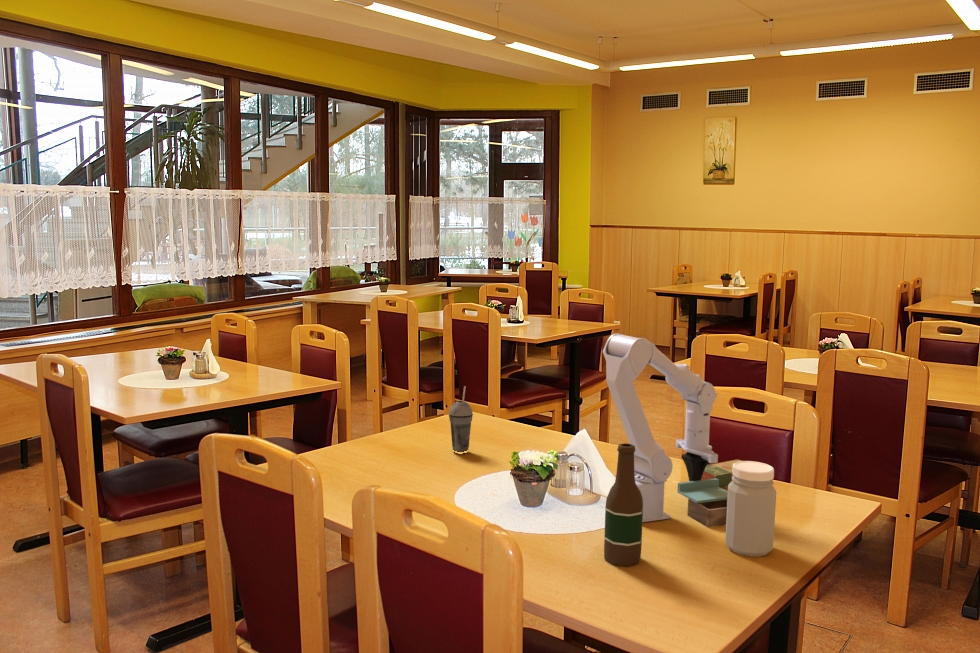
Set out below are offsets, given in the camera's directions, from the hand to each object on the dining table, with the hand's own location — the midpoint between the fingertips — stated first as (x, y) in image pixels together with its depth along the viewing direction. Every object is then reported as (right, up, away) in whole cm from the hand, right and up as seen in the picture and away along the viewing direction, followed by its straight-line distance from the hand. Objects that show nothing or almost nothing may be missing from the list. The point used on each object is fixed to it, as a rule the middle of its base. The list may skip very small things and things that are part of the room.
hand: (694, 483), depth 192 cm
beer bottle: (-23, -9, -31) cm, 40 cm away
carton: (+14, -4, +20) cm, 24 cm away
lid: (+2, -2, -5) cm, 5 cm away
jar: (+5, -9, -25) cm, 27 cm away
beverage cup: (-59, +1, +43) cm, 73 cm away
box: (+3, -7, -8) cm, 11 cm away
